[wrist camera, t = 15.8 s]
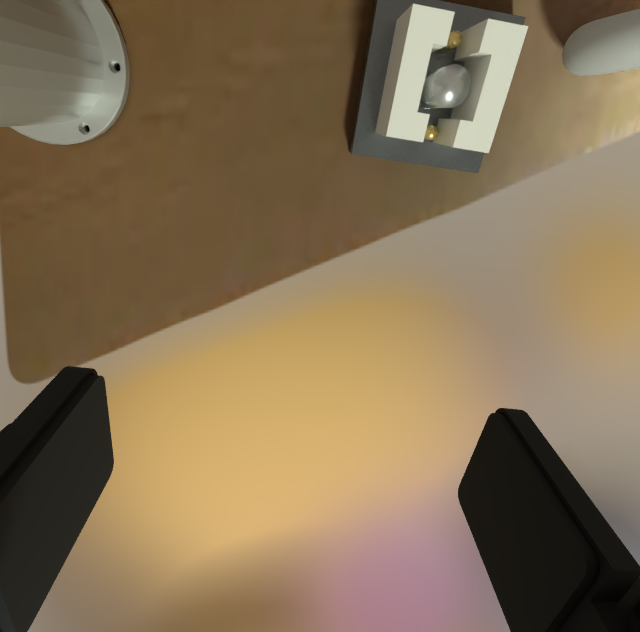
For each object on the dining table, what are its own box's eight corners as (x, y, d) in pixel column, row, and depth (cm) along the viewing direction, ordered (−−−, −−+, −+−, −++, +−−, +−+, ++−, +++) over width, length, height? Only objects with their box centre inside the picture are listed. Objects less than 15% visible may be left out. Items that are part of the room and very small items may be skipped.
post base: (349, 151, 35) (358, 159, 29) (375, -4, 30) (391, -32, 25) (469, 170, 36) (500, 181, 31) (512, 22, 31) (560, 2, 26)
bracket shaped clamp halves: (396, 19, 29) (413, 3, 25) (495, 38, 30) (528, 26, 26) (375, 132, 33) (386, 136, 28) (464, 147, 34) (488, 153, 29)
